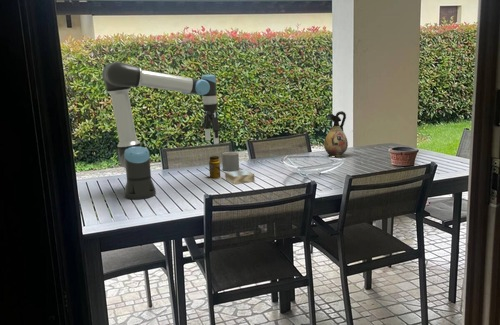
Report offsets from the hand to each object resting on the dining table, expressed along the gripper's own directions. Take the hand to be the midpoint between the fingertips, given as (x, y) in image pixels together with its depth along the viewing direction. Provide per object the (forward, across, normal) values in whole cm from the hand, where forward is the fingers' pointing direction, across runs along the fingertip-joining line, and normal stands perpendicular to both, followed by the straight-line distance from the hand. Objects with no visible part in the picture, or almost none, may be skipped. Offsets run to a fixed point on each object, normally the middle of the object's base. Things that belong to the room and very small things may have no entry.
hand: (212, 142), depth 251 cm
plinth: (+20, -14, -10) cm, 26 cm away
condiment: (+20, 0, 0) cm, 20 cm away
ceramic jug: (+21, +12, -92) cm, 95 cm away
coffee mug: (+20, +15, -16) cm, 30 cm away
